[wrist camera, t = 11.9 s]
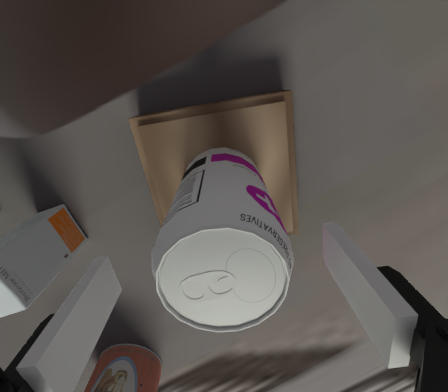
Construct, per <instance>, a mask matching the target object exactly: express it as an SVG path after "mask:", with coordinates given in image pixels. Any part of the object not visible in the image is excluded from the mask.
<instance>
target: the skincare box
mask: <svg viewBox="0 0 448 392" xmlns="http://www.w3.org/2000/svg"><path fill="white" fill-rule="evenodd" d="M87 241H88V238H87V237H86V236H85V235H84V233H83V232H82V230H81V229H80V227H79V226H78V224H77V223H76V222H75V220H74V219H73V217H72V215H71V214H70V212H69V211H68V209H67V208H66V206H65V205H64V204H61V205H59V206H56V207H53V208H50V209H48V210H45V211H42V212H39V213H37V214H35V215H34V216H32V217H31V218H29V219H28V220H26V221H25V222H23V223H22V224H20V225H19V226H17V227H16V228H14V229H13V230H11V231H10V232H8V233H7V234H5V235H4V236H2V237H1V238H0V317H3V316H7V315H10V314H13V313H16V312H19V311H22V310H25V309H27V308H28V307H29V306H30V305H31V303H32V302H33V301H34V300H35V299H36V298H37V297H38V296H39V295H40V293H41V292H42V291H43V290H44V289H45V288H46V287H47V286H48V285H49V283H50V282H51V281H52V280H53V279H54V278H55V277H56V276H57V274H58V273H59V272H60V271H61V270H62V269H63V268H64V267H65V266H66V264H67V263H68V262H69V261H70V260H71V259H72V258H73V257H74V256H75V254H76V253H77V252H78V251H79V250H80V249H81V248H82V247H83V245H84V244H85V243H86V242H87Z"/></svg>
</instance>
